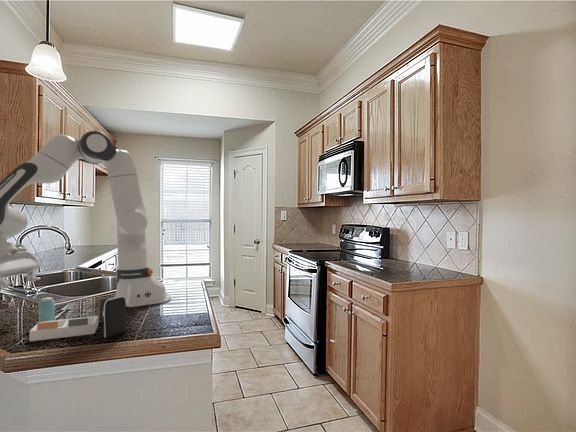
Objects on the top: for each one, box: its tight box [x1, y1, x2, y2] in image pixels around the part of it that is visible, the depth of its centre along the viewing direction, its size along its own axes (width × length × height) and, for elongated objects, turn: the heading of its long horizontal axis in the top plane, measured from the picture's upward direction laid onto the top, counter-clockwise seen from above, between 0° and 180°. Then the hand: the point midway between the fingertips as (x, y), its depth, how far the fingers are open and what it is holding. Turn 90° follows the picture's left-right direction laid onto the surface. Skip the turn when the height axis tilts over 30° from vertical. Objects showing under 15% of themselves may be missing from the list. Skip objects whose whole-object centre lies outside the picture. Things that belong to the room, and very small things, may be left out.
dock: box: [29, 315, 99, 342], centre depth 105 cm, size 16×9×5 cm, turn 112°
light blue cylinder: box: [38, 296, 56, 322], centre depth 112 cm, size 4×4×9 cm
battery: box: [99, 295, 127, 339], centre depth 104 cm, size 7×4×11 cm, turn 155°
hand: (21, 283), depth 114 cm, fingers open, 8 cm apart
